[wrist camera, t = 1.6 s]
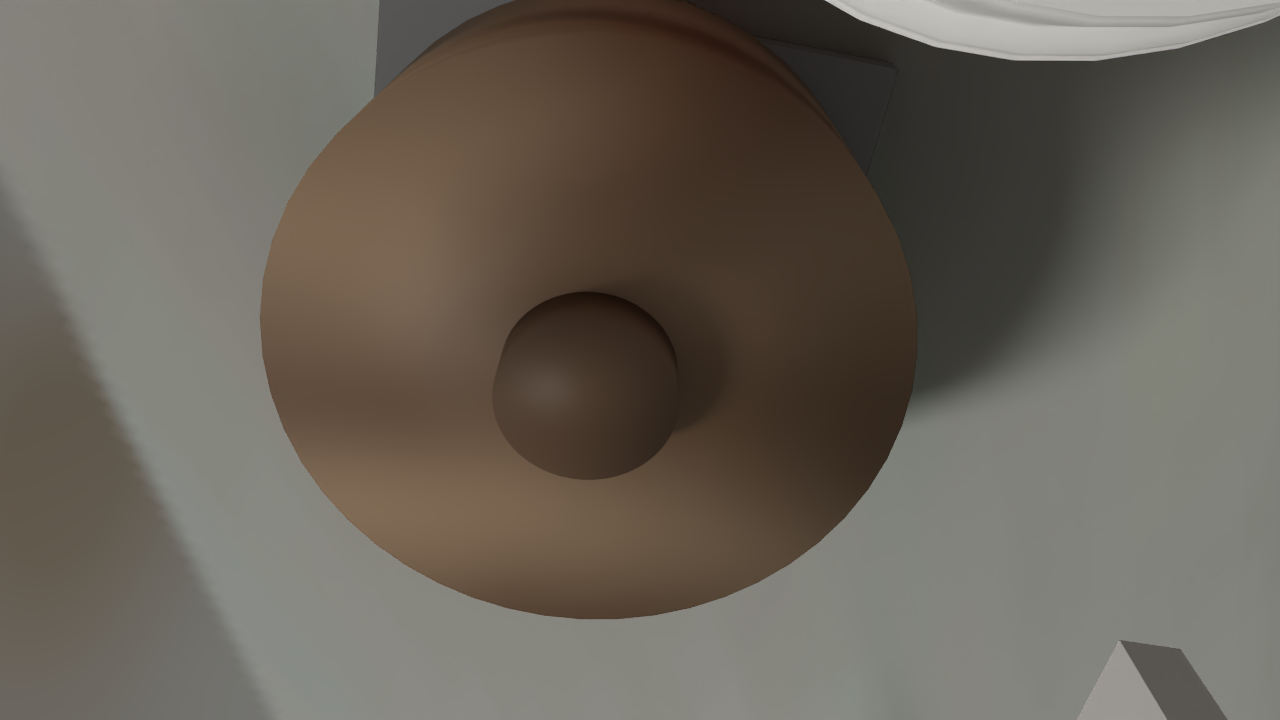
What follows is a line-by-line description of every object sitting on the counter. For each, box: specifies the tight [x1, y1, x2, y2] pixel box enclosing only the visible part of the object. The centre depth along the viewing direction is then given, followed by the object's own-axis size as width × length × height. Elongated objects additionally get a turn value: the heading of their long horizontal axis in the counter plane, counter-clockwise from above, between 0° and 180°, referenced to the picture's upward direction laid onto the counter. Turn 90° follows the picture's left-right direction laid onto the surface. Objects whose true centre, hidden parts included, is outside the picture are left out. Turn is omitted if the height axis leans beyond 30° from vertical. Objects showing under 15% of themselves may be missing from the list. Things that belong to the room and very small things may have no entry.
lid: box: [260, 0, 917, 619], centre depth 19 cm, size 11×11×6 cm
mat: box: [374, 0, 899, 176], centre depth 21 cm, size 10×10×1 cm
